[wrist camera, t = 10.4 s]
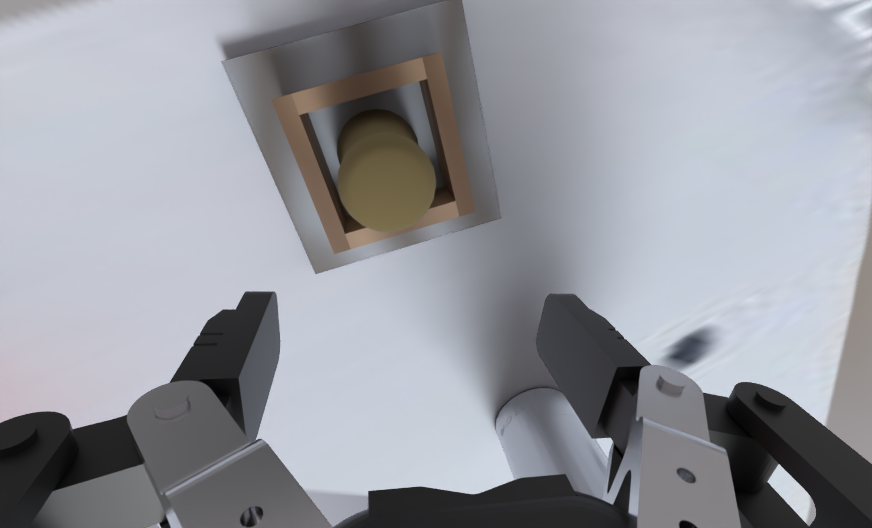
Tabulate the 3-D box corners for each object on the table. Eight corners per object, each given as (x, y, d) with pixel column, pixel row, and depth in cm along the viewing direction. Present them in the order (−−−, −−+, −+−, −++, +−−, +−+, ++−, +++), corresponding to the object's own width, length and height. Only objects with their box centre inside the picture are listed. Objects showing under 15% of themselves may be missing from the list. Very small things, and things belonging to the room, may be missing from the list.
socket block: (455, -1, 28) (477, -16, 23) (495, 212, 35) (518, 235, 30) (227, 61, 27) (199, 60, 22) (317, 266, 34) (310, 298, 29)
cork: (406, 201, 32) (428, 259, 22) (328, 180, 30) (315, 233, 20) (429, 124, 29) (466, 150, 20) (347, 96, 28) (342, 110, 18)
